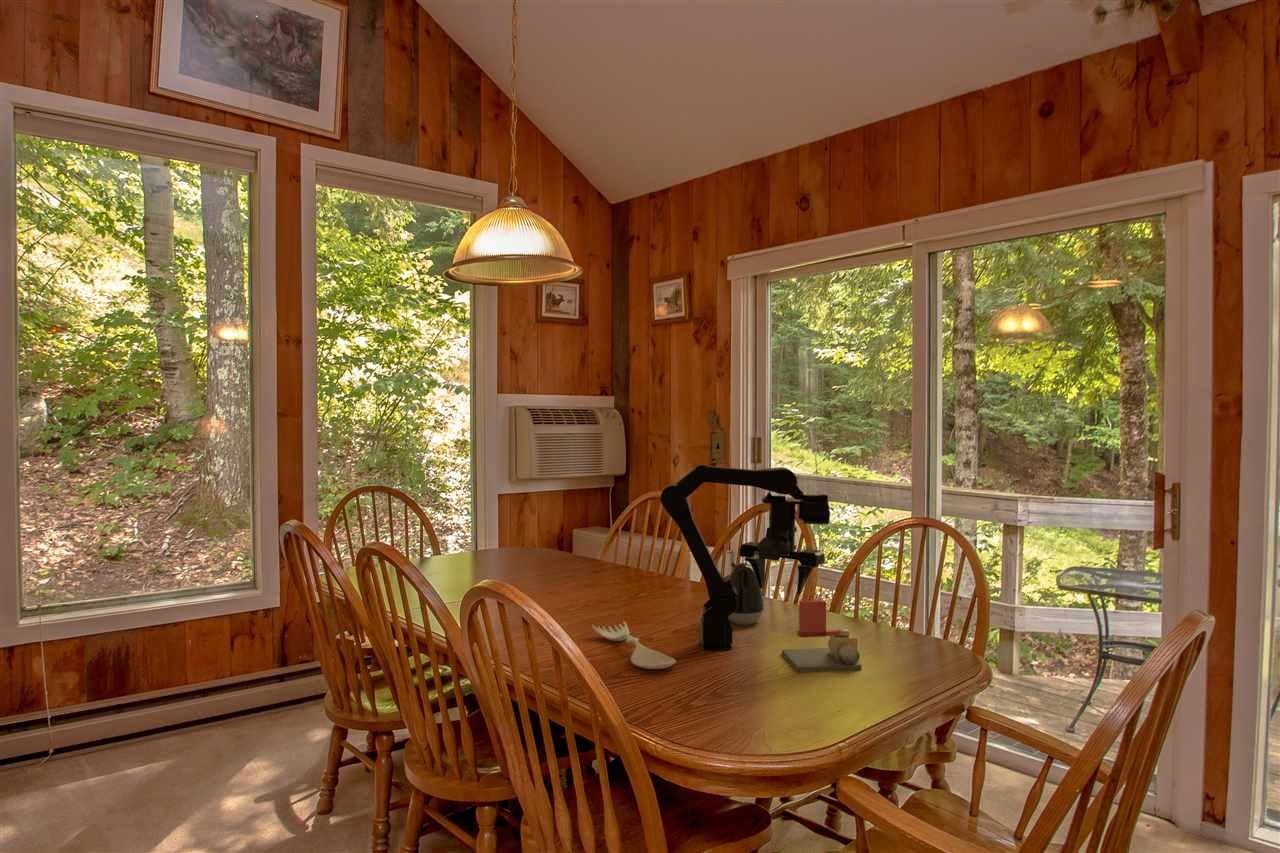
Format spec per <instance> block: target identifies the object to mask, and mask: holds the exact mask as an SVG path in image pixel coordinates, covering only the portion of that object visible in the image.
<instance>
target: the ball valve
mask: <svg viewBox="0 0 1280 853" xmlns="http://www.w3.org/2000/svg"><path fill="white" fill-rule="evenodd" d="M827 646H828V647H827V648H829V649H830V656H831V657H832V658H833V659H834V660H835V661H836V662H845V663H846V664H847V665H854V664H856V663H857V662H859V660H860V657H861V656H860V653H859V651H858V637H857V636H855V634H853V633H851V632H850V631H849V636H829V640H828V643H827Z"/></svg>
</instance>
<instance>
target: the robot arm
mask: <svg viewBox="0 0 1280 853" xmlns="http://www.w3.org/2000/svg"><path fill="white" fill-rule="evenodd" d="M704 483H711V484H712V483H714V484H721V485H723V484H725V485H732V486H733V485H735V486H746V487H755V488H759V489H761V490H765V491H767V494H766V495H765V496H764V497H762V498H761V499H760V500H761V502H762V503H763V504H769V524H768V526H769V527H766V534H765V537H763V538H762V539H761V540H760V541H759V542H758V541H749V542H746V543H742V544H740V547H739V549H738V556H739V557H741V558H744V561H745V562H748V564H749V565H750V566H752V568H753V569H754V572H755V574H756V578H757V581H758V584H759V587H760V589H761V590H762V589H764V585H765V577H766V560H769V561H773V562H777V561H779V560H780V559H789V560H796V561H798V562H799V563H800V564H799V565H797V570H798V574H797V576H798V577H797V590H796V591H797V595H798V596H799V595H801V594H802V592H803V591H804V588H805V586H806V584H807V581H808V579H809V577H810V575H811V573H812V572H813V569H815V568H817V567H820V565H823V564H825V561H826V560H825V558H826V557H825V554H824V552H823V550H820V549H819V550H818V549H811V548H806V549H803V550H801V551H796V550H797V545H796V544H795V533H796V532H797V531H798V530H797V528H798V527H797V526H796V518H797V520H801V523H802V524H804V525H824V526H825V525H829V523H830V517H831V516H830V514H831V512H830V506H829V501H828V500H829V496H828V495H827V494H825V493H823V494H821V493H820V494H805V493H804V492H803V490H802V489H801V488H799V485H798V478H797V475H796V474H795V473H794V472H793V471H792V470H790V469H789V468H787V467H784V466H783V467H769V468H762V469H748V468H747V469H746V468H739V467H728V466H715V465H707V464H704V463H699V464H698V465H696V466H695V467H694V468H693V469H692V470H691V471H690V472H688V473H687V474H685V476H683V477H682V478H681V479H679V480H678V481H677V482H676V483H673V482H672V483H669V484H667V485H666V486H665V487H664V488H663V490H662V491H661V494H660V502H661V505H662V506H663V508H664V510H666V513H667V514H668V515H669V517H670V518H672V519H671V520H673V521H674V523H675V524H676V525H677V526H678V528H679V530H680V532H681V534H682V537H683V538H684V540H685V542H686V545H687V547H688V549H689V551H690V552H691V554H692V557H693V559H694V561H695V563H696V565H697V567H698V569H699V571H700V574H701V575H702V577H703V579H704V582H705V586H706V588H707V594H708V597H709V599H708V600H707V601H705V603H704V604H703V605H702V617H700V639H699V644H700V646H701V647H702V650H705V651H709V650H711V651H712V650H715V651H716V650H717V651H718V650H731V649H733V647H732V645H733V626H732V624H731V621H730V620H729V618H728V617H729V615H731V614H732V613H734V611H735V610H736V607H737V599H736V597H738V594H737V589H736V588H735V587H734V586H733V585H732V582H731V579H730V574H727V575H726V576H724V575H723V574H722V573H721V572H720V570H719V569H718V567H717V565H716V561H715V560H714V558H713V557H712V555H711V553H710V550H709V548H708V546H707V544H706V542H705V540H704V538H703V536H702V534H701V532H700V530H699V528H698V526H697V524H696V522H695V520H694V518H693V513H692V510H691V506H690V502H689V499H688V497H689V496H691V495H692V494H693V493H695V492H696V490H697V489H698V488H700V487H701V486H702V485H703V484H704ZM768 491H769V492H768ZM772 493H775V494H779V495H772ZM786 495H789V496H790V497H791V498H793V499H794V500H792V499H791V500H789V499H787V497H786ZM796 515H797V516H796Z"/></svg>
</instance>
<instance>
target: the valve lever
mask: <svg viewBox="0 0 1280 853" xmlns="http://www.w3.org/2000/svg"><path fill="white" fill-rule="evenodd" d="M798 610H799V611H798V615H799V616H798V618H799V619H798V624H799V625H798V627H799V628H798V630H797V631H796V636H797V637H799V638H825V637H830V636H849V632H850V629H848V628H837V629H827V601H826V600H825V599H822V600H821V599H817V600H816V599H815V600H799V601H798Z"/></svg>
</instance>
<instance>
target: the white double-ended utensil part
mask: <svg viewBox="0 0 1280 853" xmlns="http://www.w3.org/2000/svg"><path fill="white" fill-rule="evenodd" d="M618 627H619V628H618ZM591 629H592V630H593V631H594V633H597V634H598V635H600V636H601V637H602V638H604V639H606V640H609V641H613V642H621V641H624V640H625V642H626V643H628V644H633V645H634V646H635V648H634V651H633V652H632V654H631V655H630V661H631V663H632V664H633V666H634V665H635V666H636V667H638V668H641V669H646V670H661V669H666V668H669V667H671V666H673V665H676V663H677V660H676V659H675V658H673V657H672V656H670V655H666V654H664V653H662V652H660V651H657V650H654V649H651V648H648V647H647V646H645V645H643V644H641V643H640V642H639V641H640V639H639V637H634V636H632V635H630V634H631V632H630V630H629V627H628V624H627V622H626V621H625V620H623V621H622V624H621V623H618V626H617V625H616V624H614V629H613V628H612V627H611V626H609V625H608V626H607V629H606V628H605V627H604V626H601V627H600V626H599V625H597V626H595V625H594V624H591Z"/></svg>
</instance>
